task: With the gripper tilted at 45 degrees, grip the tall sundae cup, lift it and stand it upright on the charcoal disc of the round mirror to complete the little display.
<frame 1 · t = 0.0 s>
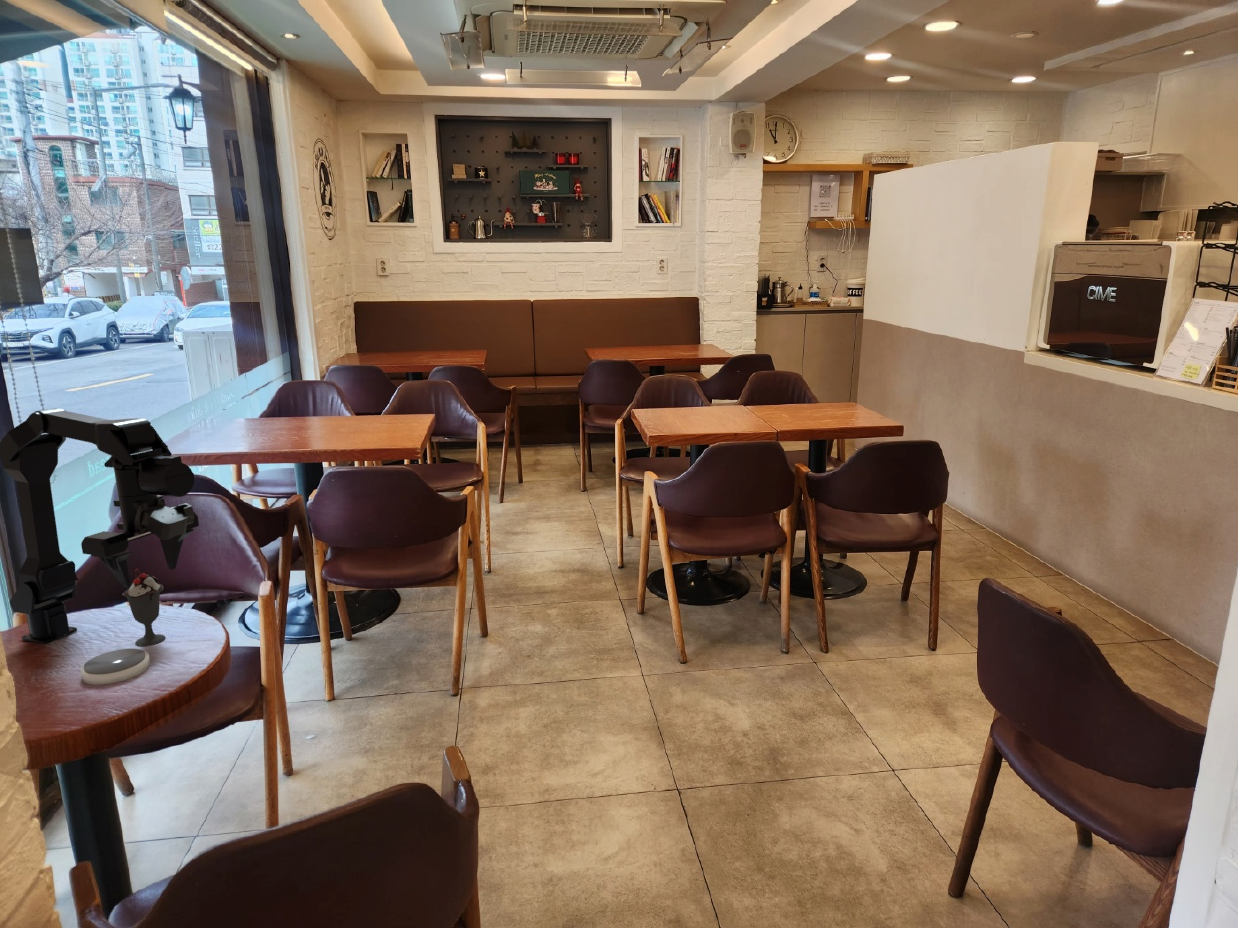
hand: (150, 578, 138), 15 cm above the table, tool pointing down, fingers open, 9 cm apart
sundae: (150, 641, 147), on the table
round mirror: (116, 670, 136), on the table
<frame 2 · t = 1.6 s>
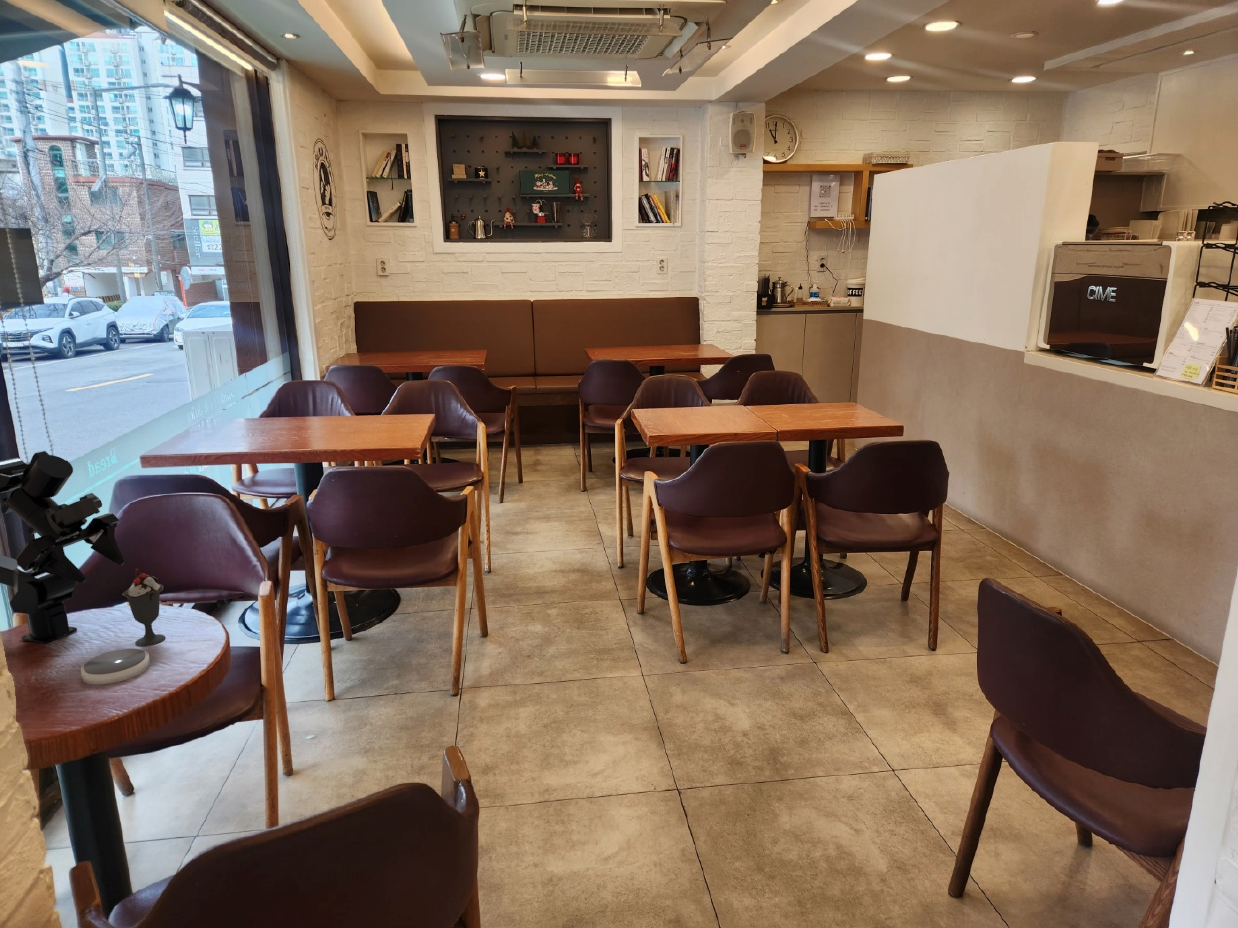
hand: (104, 571, 145), 13 cm above the table, tool tilted 45°, fingers open, 9 cm apart
nothing on the table moved.
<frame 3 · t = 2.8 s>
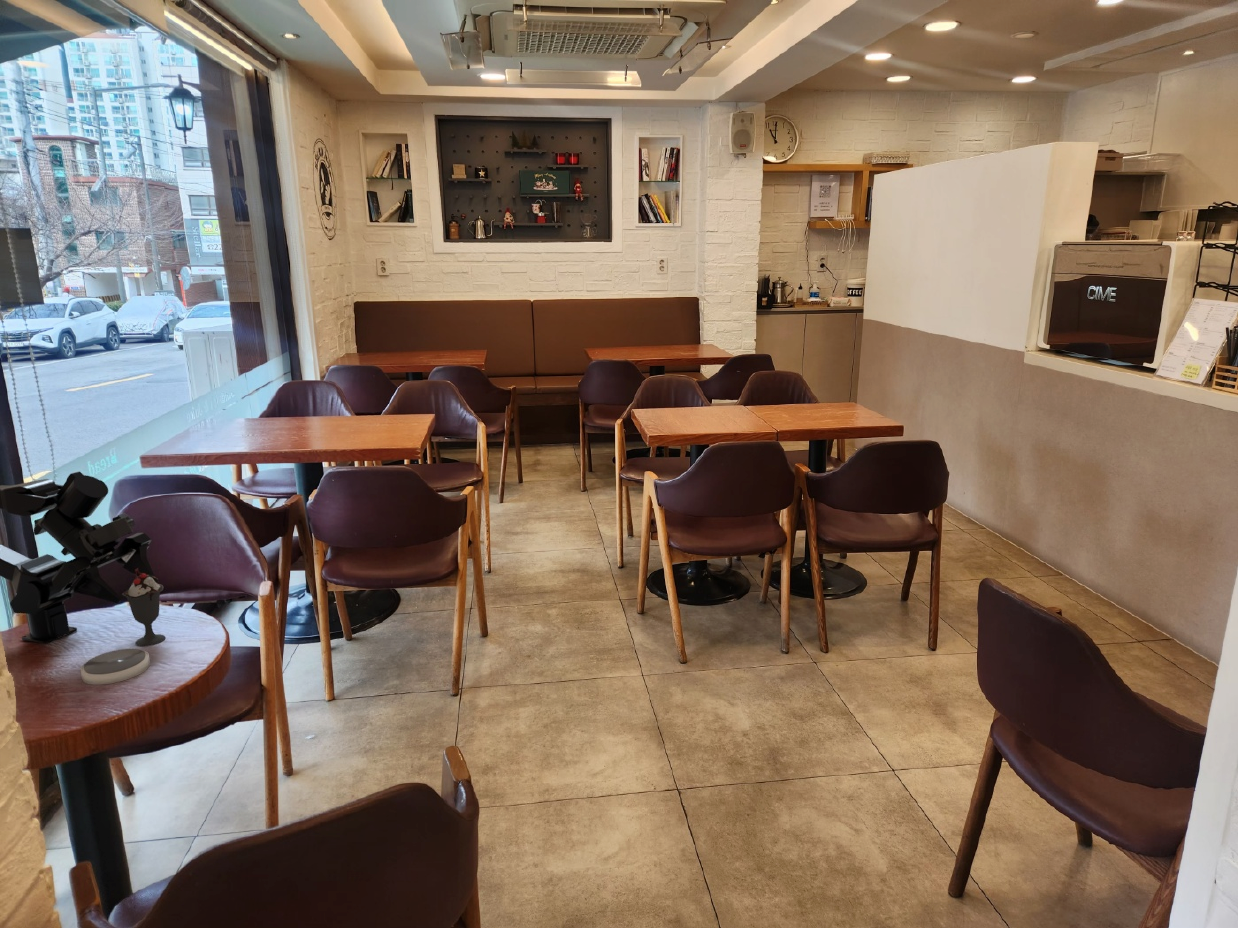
hand: (138, 592, 145), 10 cm above the table, tool tilted 45°, fingers open, 9 cm apart
nothing on the table moved.
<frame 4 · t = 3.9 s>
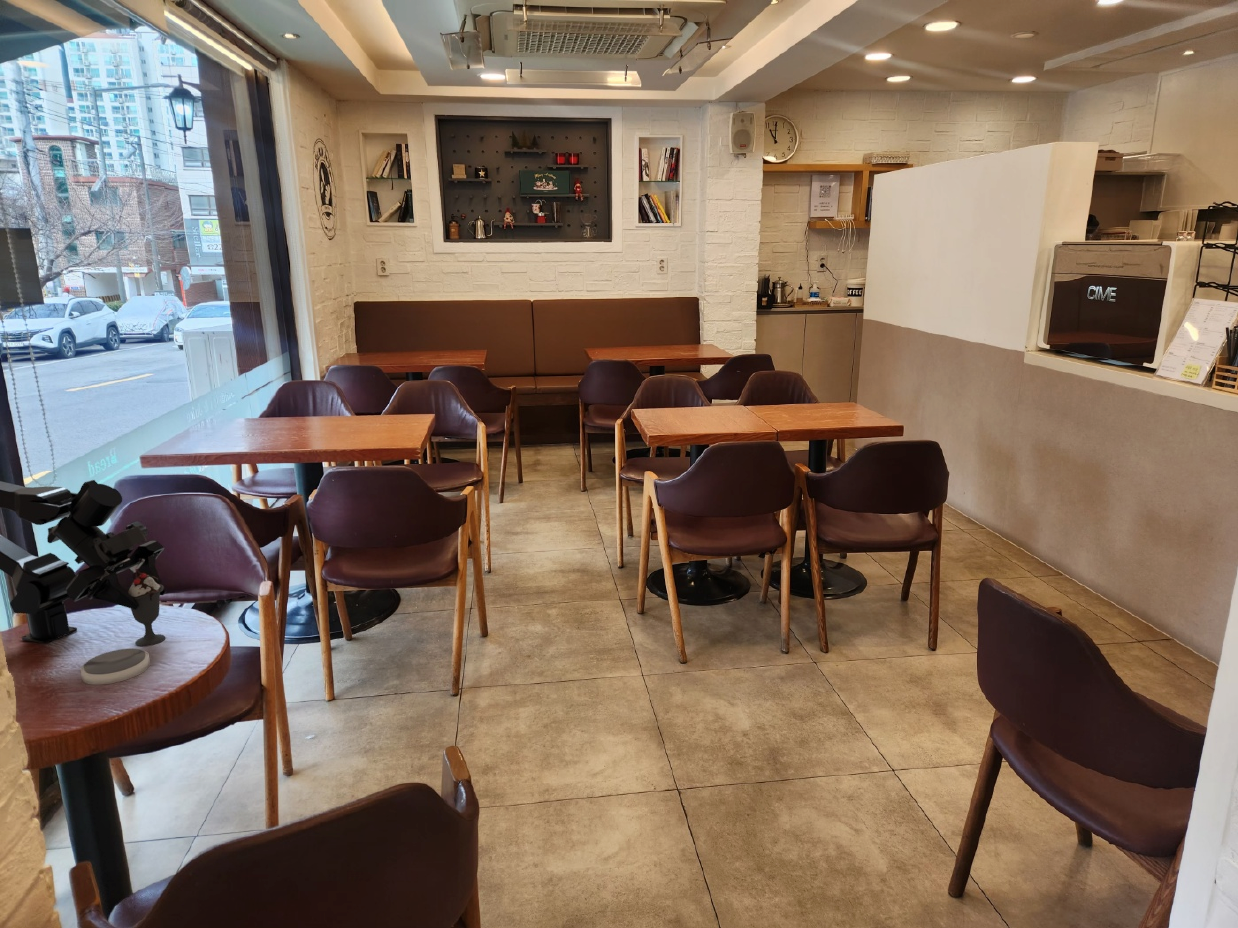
hand: (151, 600, 145), 8 cm above the table, tool tilted 45°, fingers closed on sundae, 6 cm apart
sundae: (150, 641, 147), on the table, touching gripper
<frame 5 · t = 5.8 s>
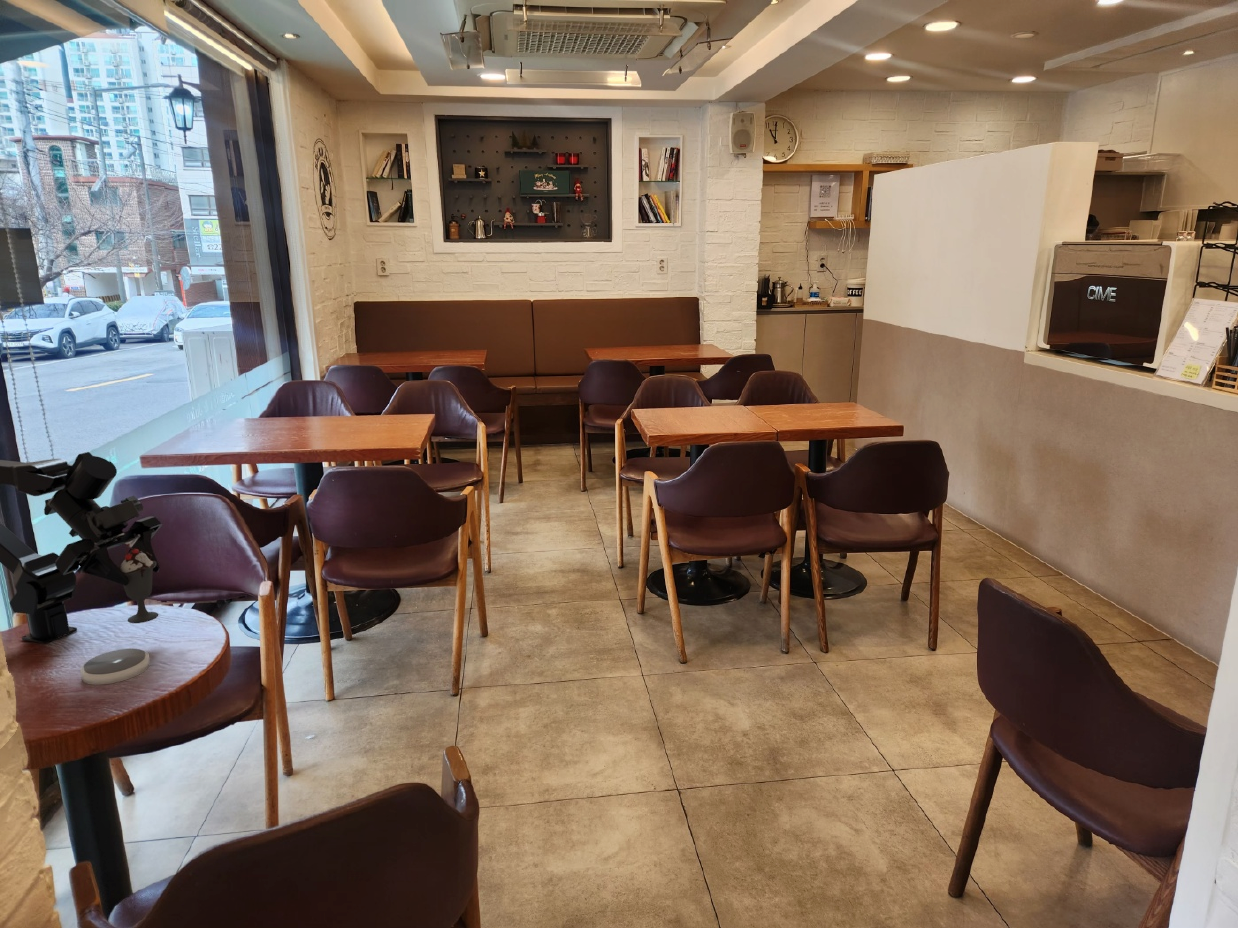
hand: (143, 577, 142), 14 cm above the table, tool tilted 45°, fingers closed on sundae, 6 cm apart
sundae: (143, 619, 144), point 5 cm above the table, touching gripper
when the fingers open (11 cm above the table, at t = 7.7 s): sundae stays where it is, resting on round mirror.
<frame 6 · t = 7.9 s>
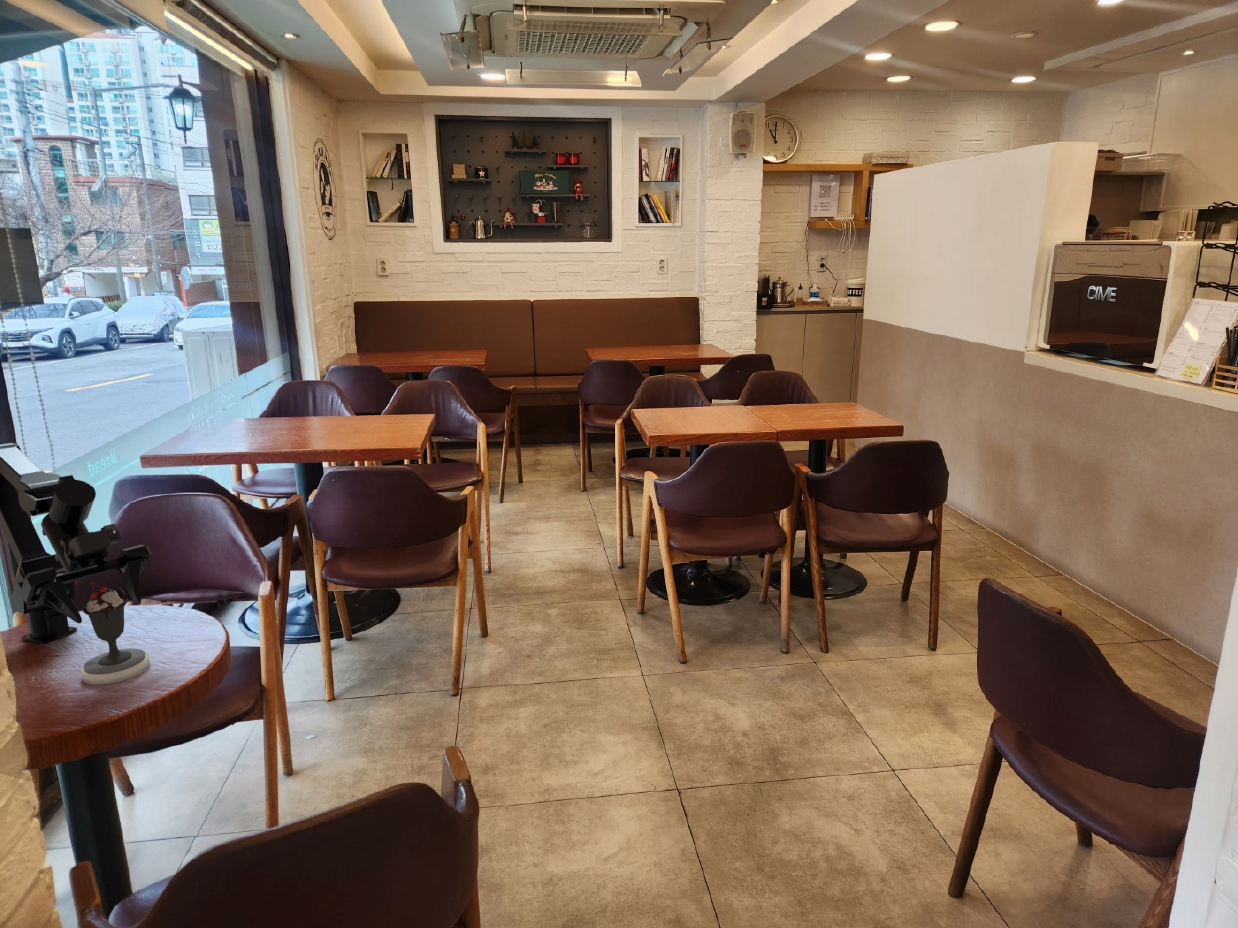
hand: (110, 612, 132), 11 cm above the table, tool tilted 45°, fingers open, 9 cm apart
sundae: (115, 659, 135), point 2 cm above the table, touching round mirror
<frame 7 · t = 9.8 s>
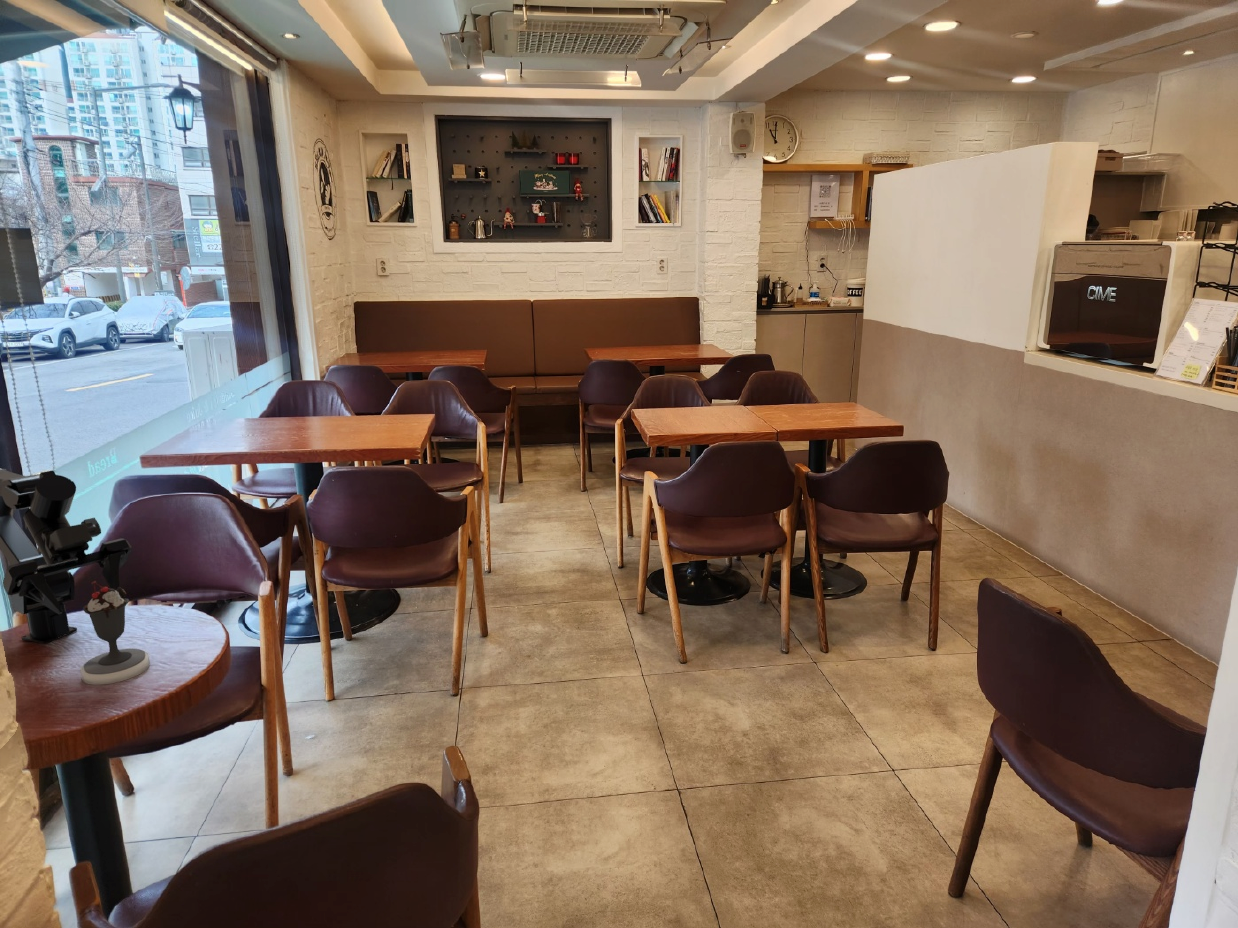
hand: (90, 603, 136), 11 cm above the table, tool tilted 45°, fingers open, 9 cm apart
nothing on the table moved.
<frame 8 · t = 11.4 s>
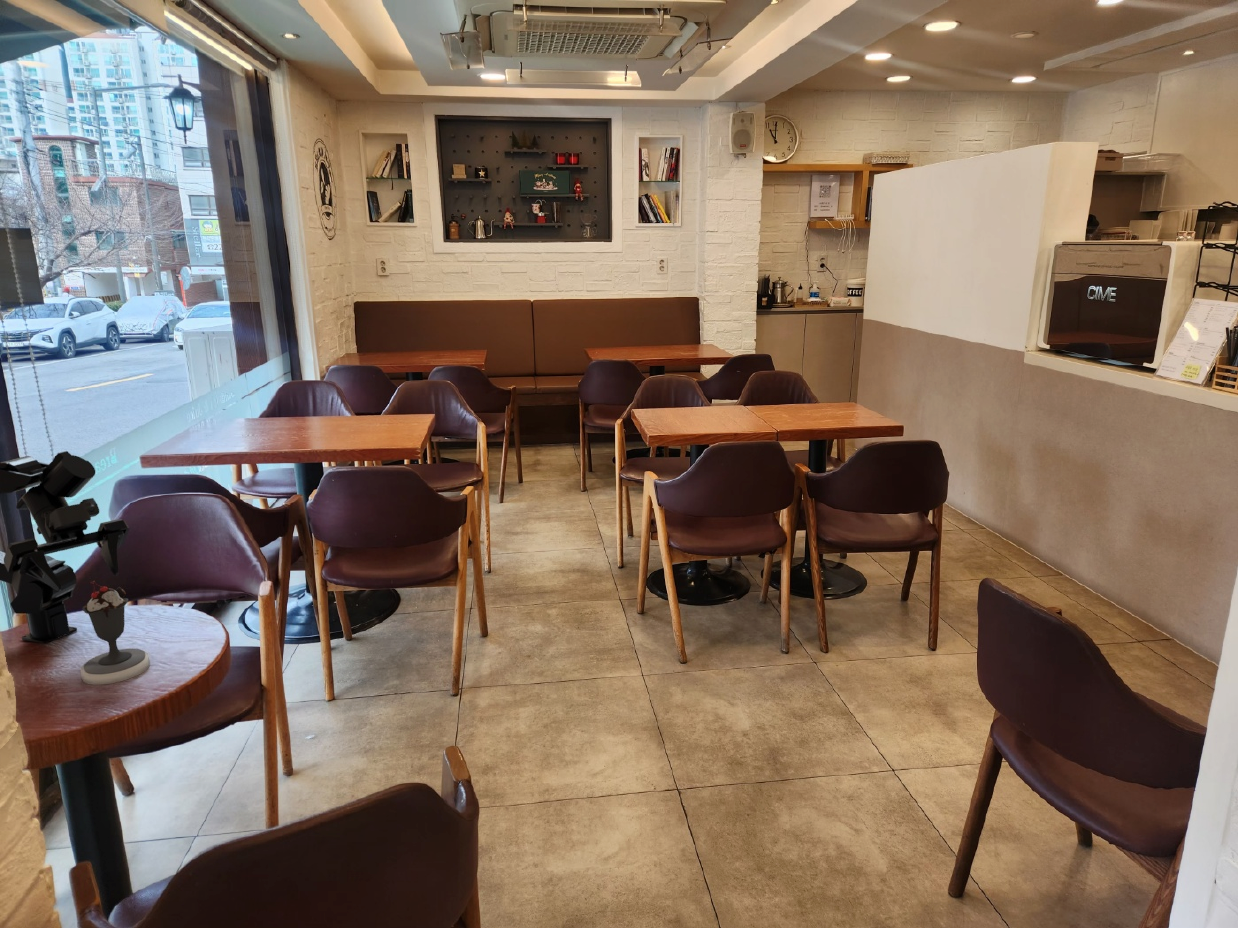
hand: (89, 581, 140), 14 cm above the table, tool tilted 45°, fingers open, 9 cm apart
nothing on the table moved.
at the end: sundae 0.3 cm off-centre on the round mirror, point 1.8 cm above the round mirror's base; sundae tilted 1°; the gripper is holding nothing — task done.
